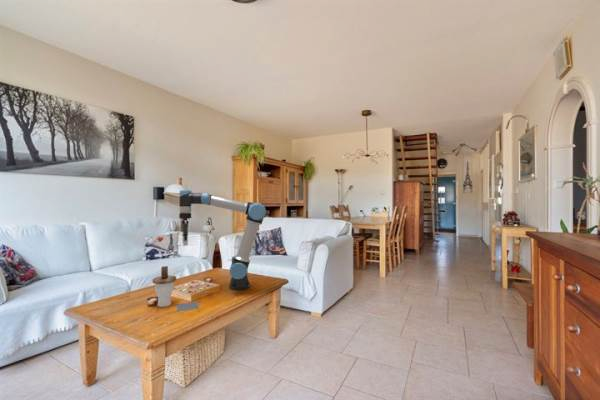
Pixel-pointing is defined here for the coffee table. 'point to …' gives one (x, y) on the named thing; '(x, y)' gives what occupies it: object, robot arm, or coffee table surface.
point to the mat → (187, 306)
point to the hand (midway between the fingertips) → (185, 244)
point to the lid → (164, 277)
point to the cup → (164, 293)
